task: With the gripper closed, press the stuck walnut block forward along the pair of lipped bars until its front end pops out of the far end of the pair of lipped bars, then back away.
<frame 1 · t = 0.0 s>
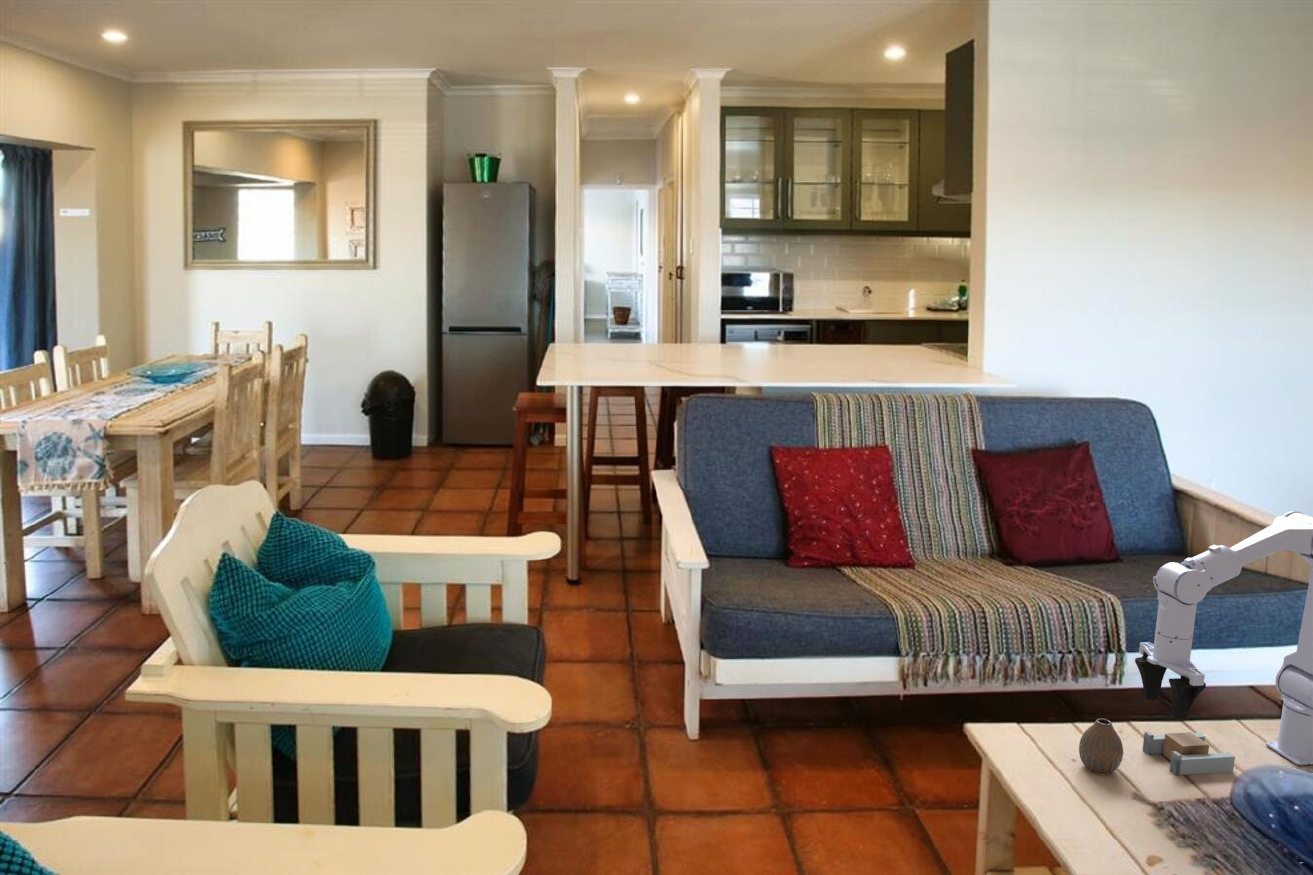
hand: (1165, 708, 176), 10 cm above the table, tool pointing down, fingers open, 7 cm apart
walnut block: (1185, 749, 178), point 2 cm above the table, slide at 0.0 cm
pair of lipped bars: (1186, 760, 178), on the table
vase: (1098, 770, 174), on the table
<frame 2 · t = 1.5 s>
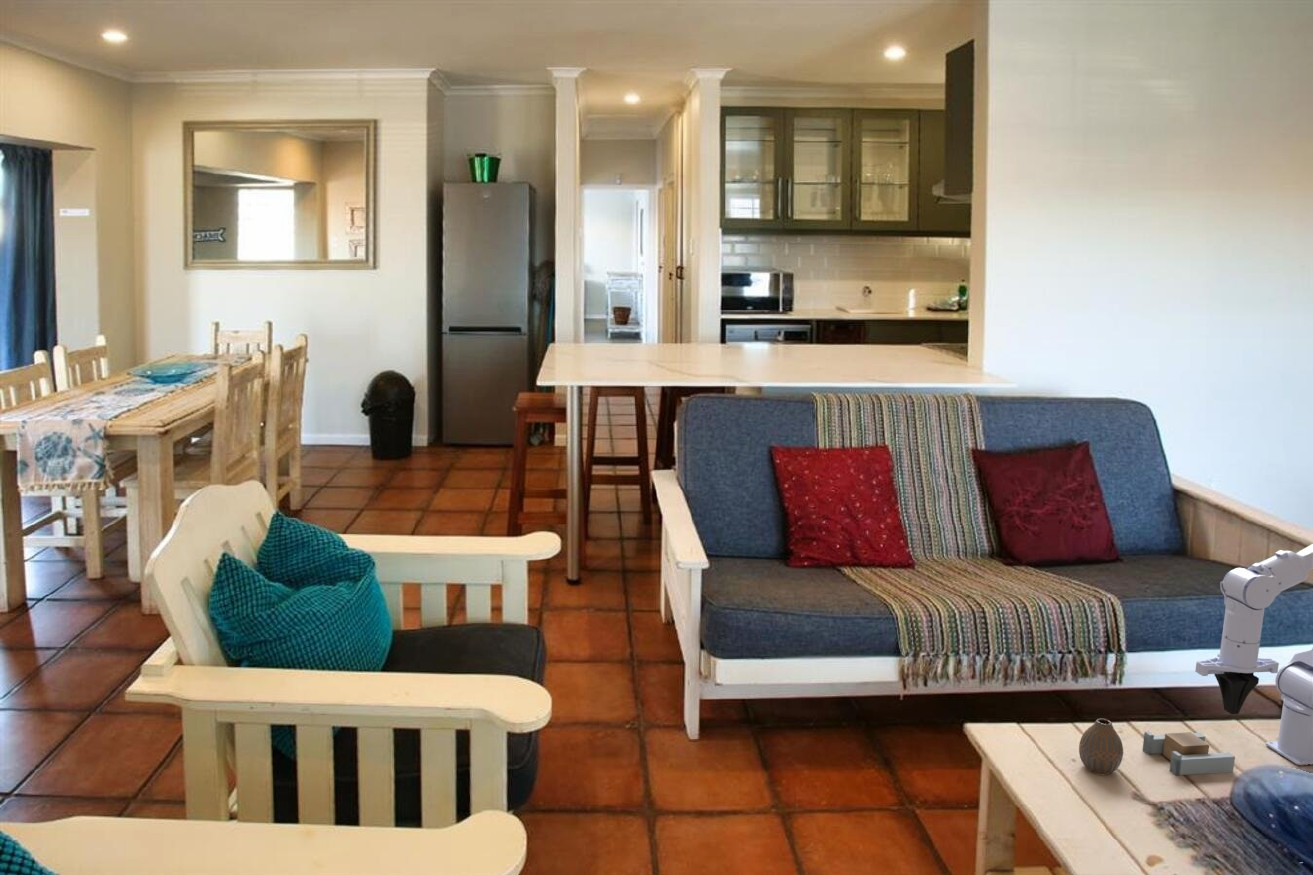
hand: (1231, 711, 178), 9 cm above the table, tool pointing down, fingers closed
nothing on the table moved.
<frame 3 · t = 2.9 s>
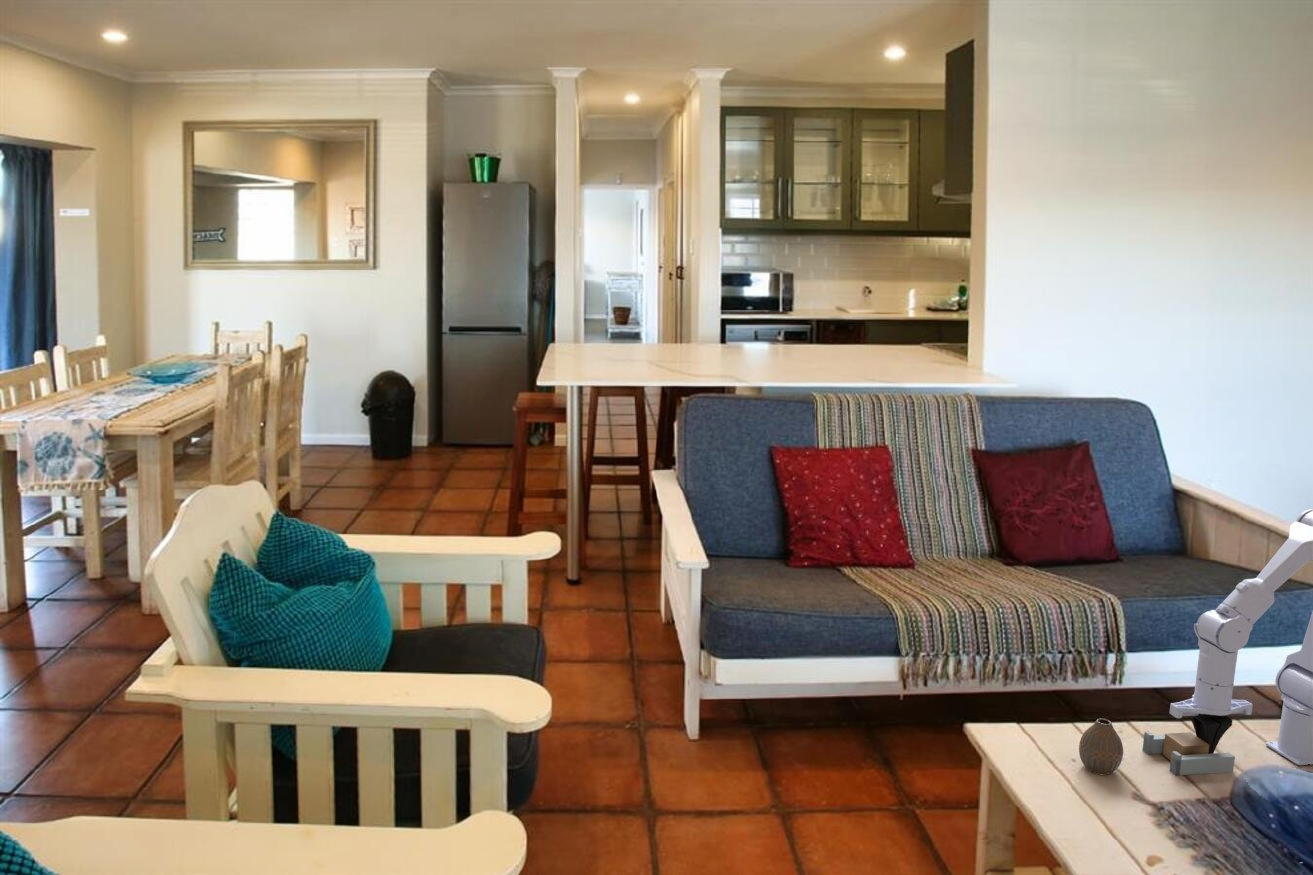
hand: (1205, 753, 178), 1 cm above the table, tool pointing down, fingers closed
walnut block: (1185, 749, 178), point 2 cm above the table, slide at 0.0 cm, touching gripper
everything else where it was.
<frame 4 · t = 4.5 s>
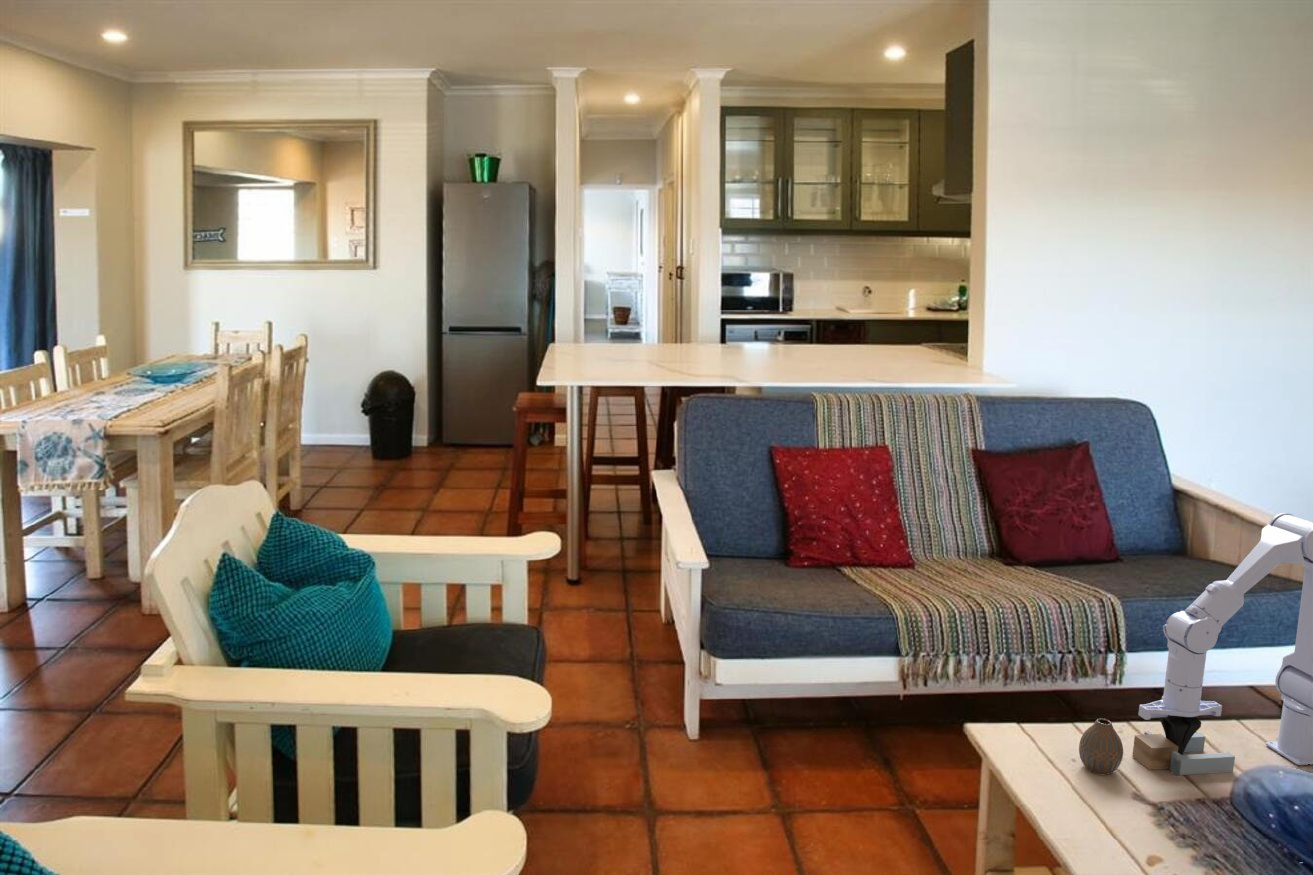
hand: (1174, 754, 178), 1 cm above the table, tool pointing down, fingers closed
walnut block: (1155, 751, 177), point 2 cm above the table, slide at 5.9 cm, touching gripper
everything else where it was.
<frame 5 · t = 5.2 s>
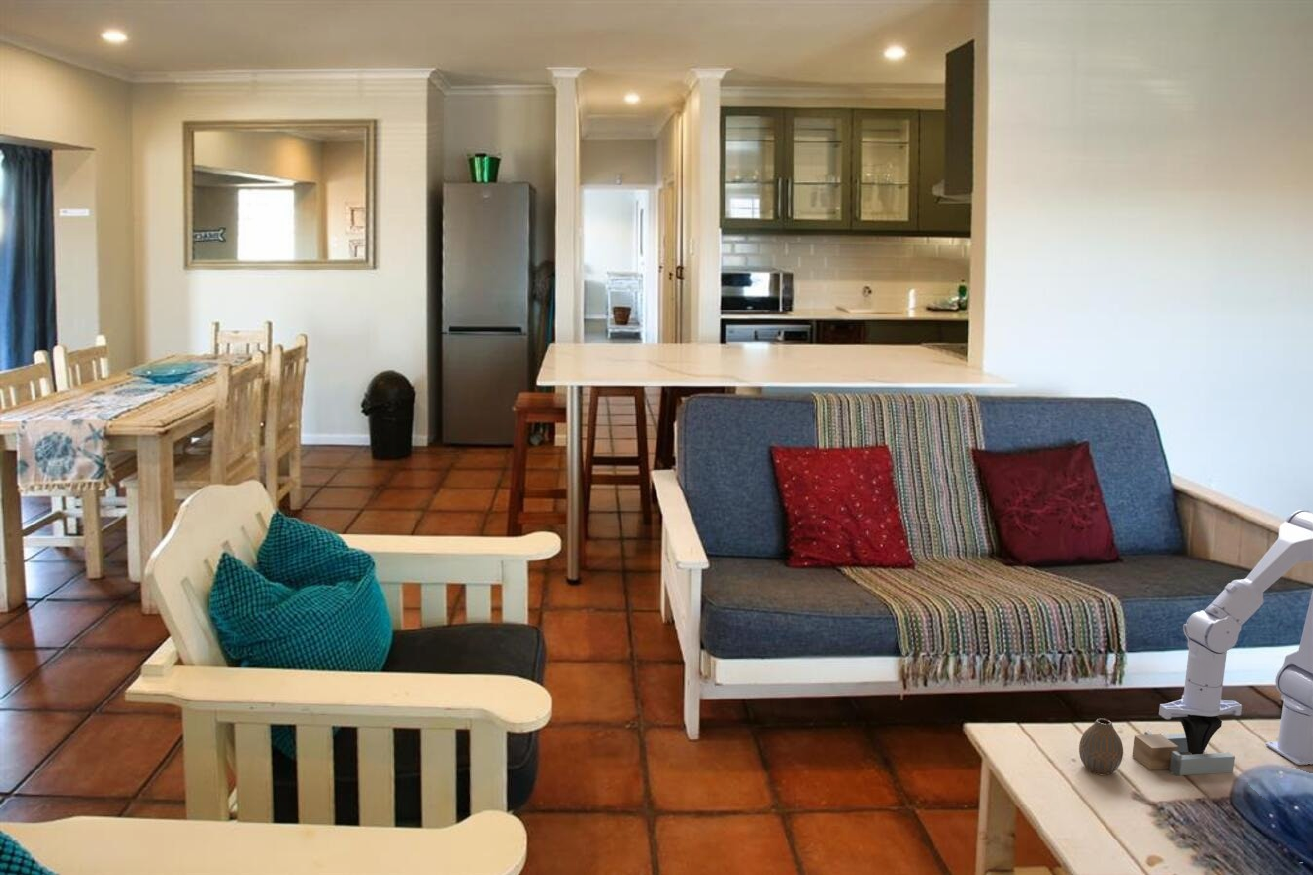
hand: (1195, 753, 178), 1 cm above the table, tool pointing down, fingers closed
walnut block: (1155, 751, 177), point 2 cm above the table, slide at 5.9 cm
everything else where it was.
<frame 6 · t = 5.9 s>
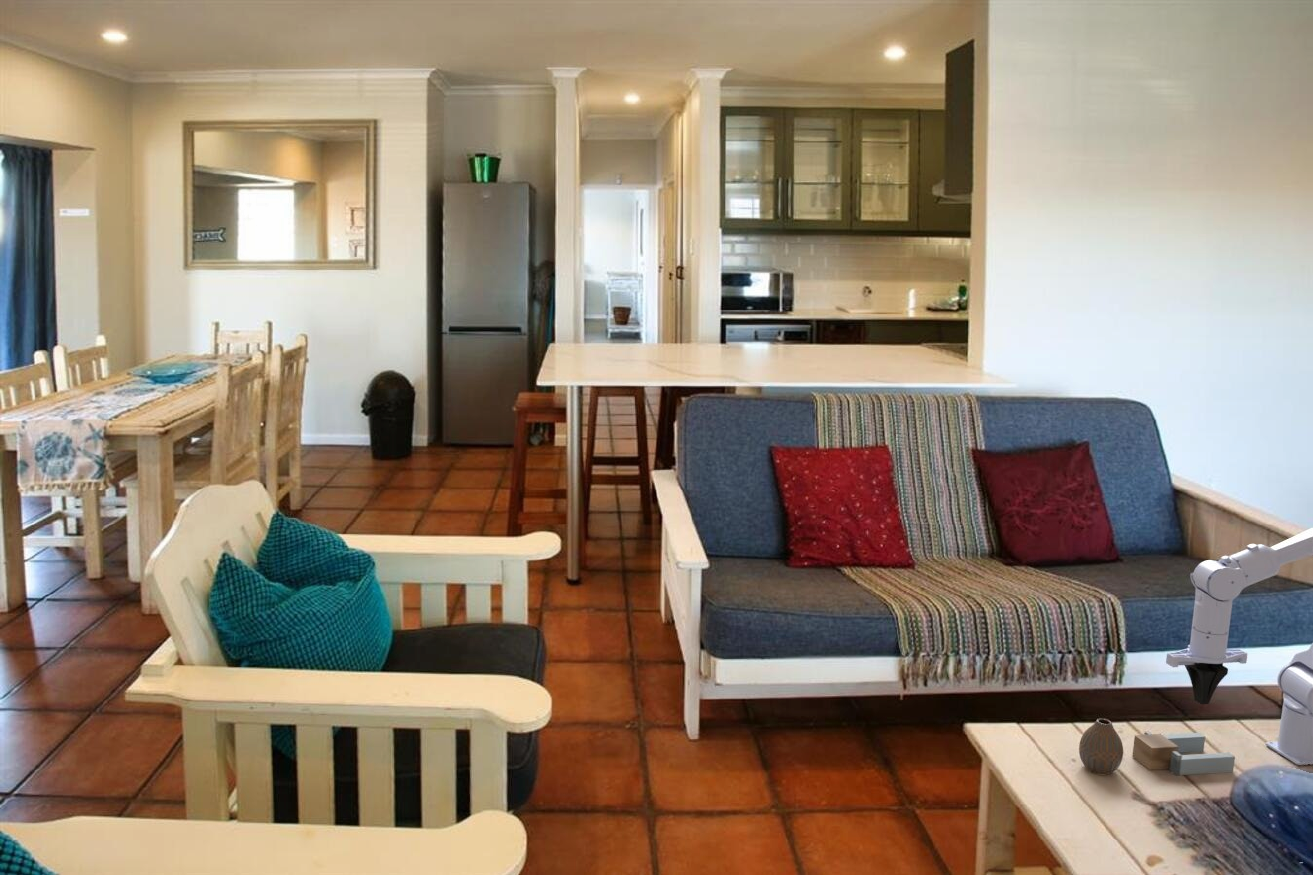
hand: (1201, 702, 180), 9 cm above the table, tool pointing down, fingers closed
nothing on the table moved.
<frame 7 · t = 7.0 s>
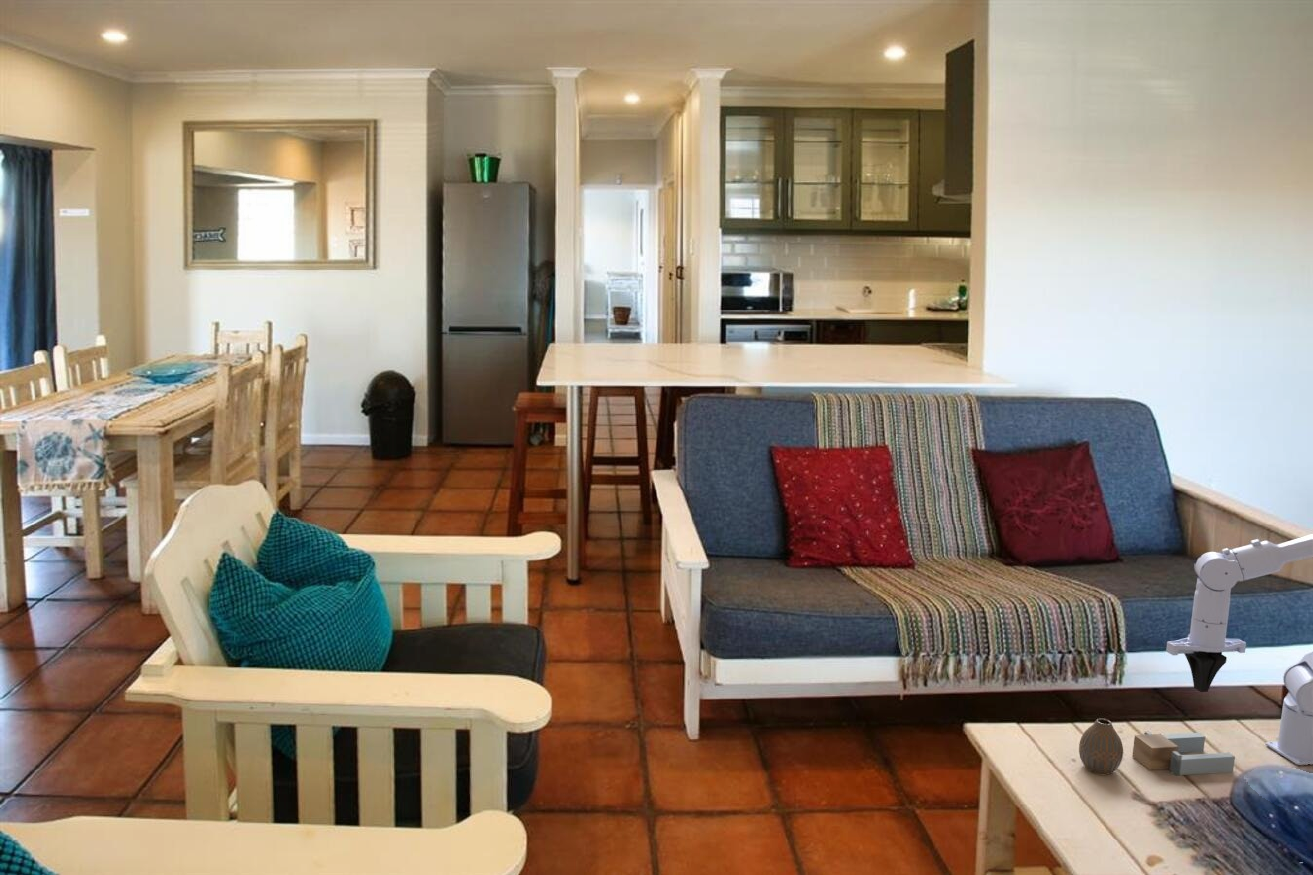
hand: (1200, 689, 186), 9 cm above the table, tool pointing down, fingers closed
nothing on the table moved.
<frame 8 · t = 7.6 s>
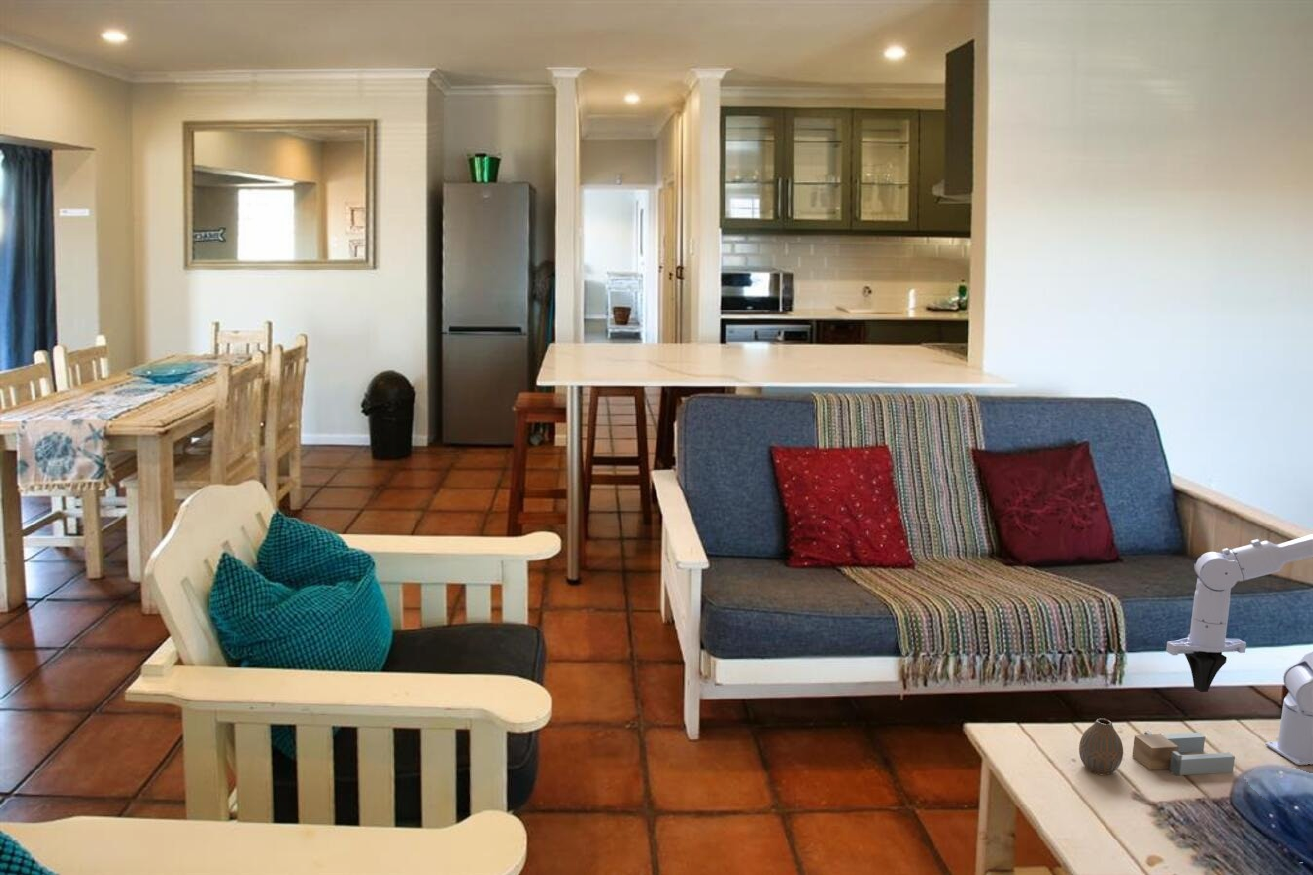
hand: (1200, 689, 186), 9 cm above the table, tool pointing down, fingers closed
nothing on the table moved.
at the end: walnut block slide at 5.9 cm; the gripper is holding nothing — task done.
